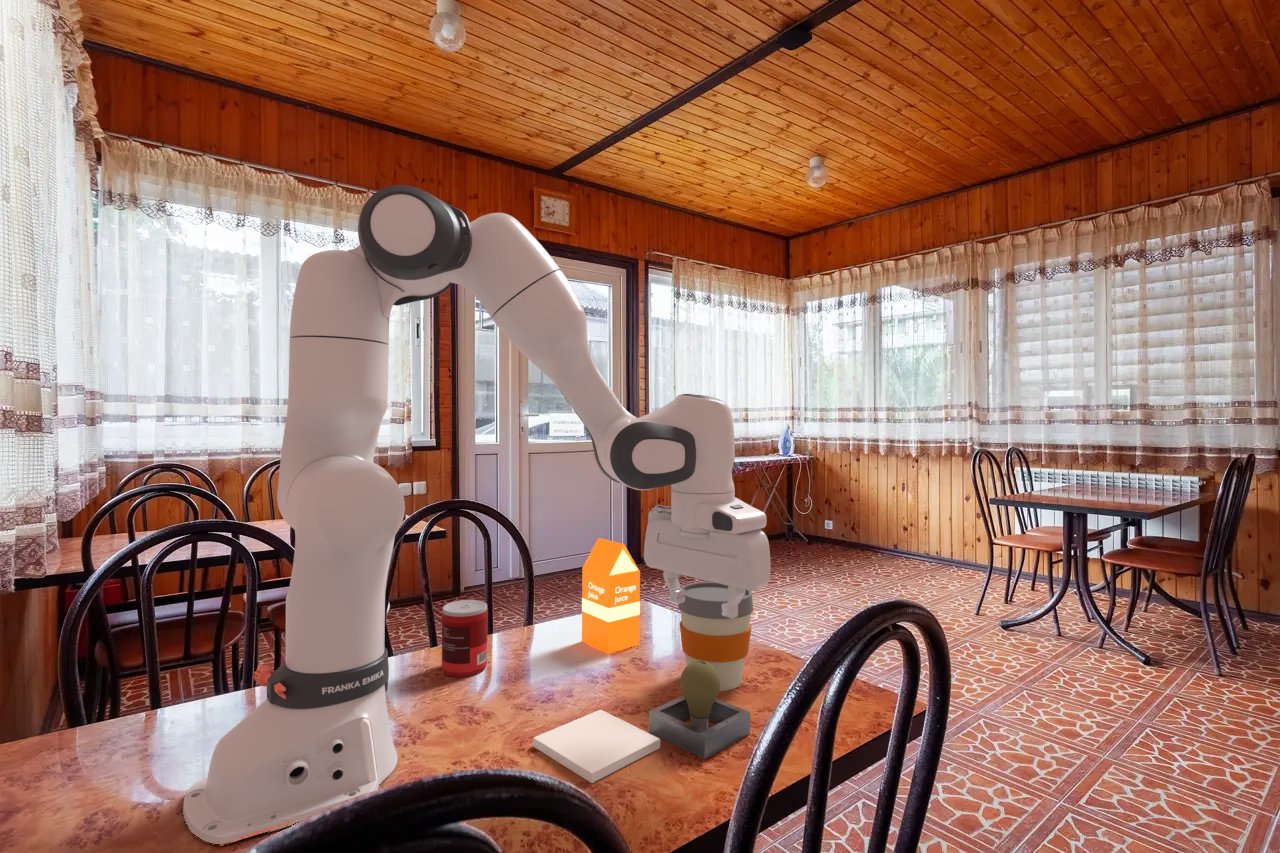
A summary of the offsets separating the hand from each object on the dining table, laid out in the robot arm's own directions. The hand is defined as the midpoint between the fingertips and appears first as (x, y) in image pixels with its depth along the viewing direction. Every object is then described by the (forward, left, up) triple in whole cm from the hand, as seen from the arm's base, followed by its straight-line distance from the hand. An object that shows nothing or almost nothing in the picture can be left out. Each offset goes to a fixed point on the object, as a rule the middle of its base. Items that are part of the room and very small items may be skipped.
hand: (702, 609), depth 90 cm
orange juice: (+15, +35, -18) cm, 42 cm away
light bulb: (0, 0, -18) cm, 18 cm away
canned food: (-12, +43, -18) cm, 48 cm away
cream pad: (-13, +7, -17) cm, 23 cm away
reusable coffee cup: (+16, +10, -18) cm, 26 cm away
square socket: (0, 0, -17) cm, 17 cm away
